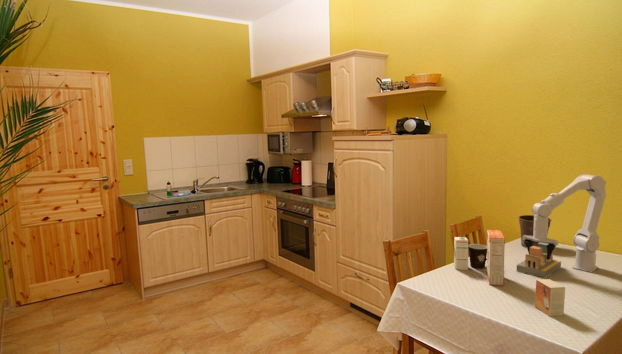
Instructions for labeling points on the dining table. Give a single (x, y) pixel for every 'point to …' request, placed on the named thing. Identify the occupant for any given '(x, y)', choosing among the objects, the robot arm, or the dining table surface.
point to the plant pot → (528, 227)
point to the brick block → (535, 251)
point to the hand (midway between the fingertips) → (539, 257)
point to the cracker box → (495, 257)
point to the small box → (550, 297)
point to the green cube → (543, 247)
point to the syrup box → (461, 253)
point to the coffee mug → (477, 255)
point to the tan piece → (537, 260)
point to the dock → (542, 271)
